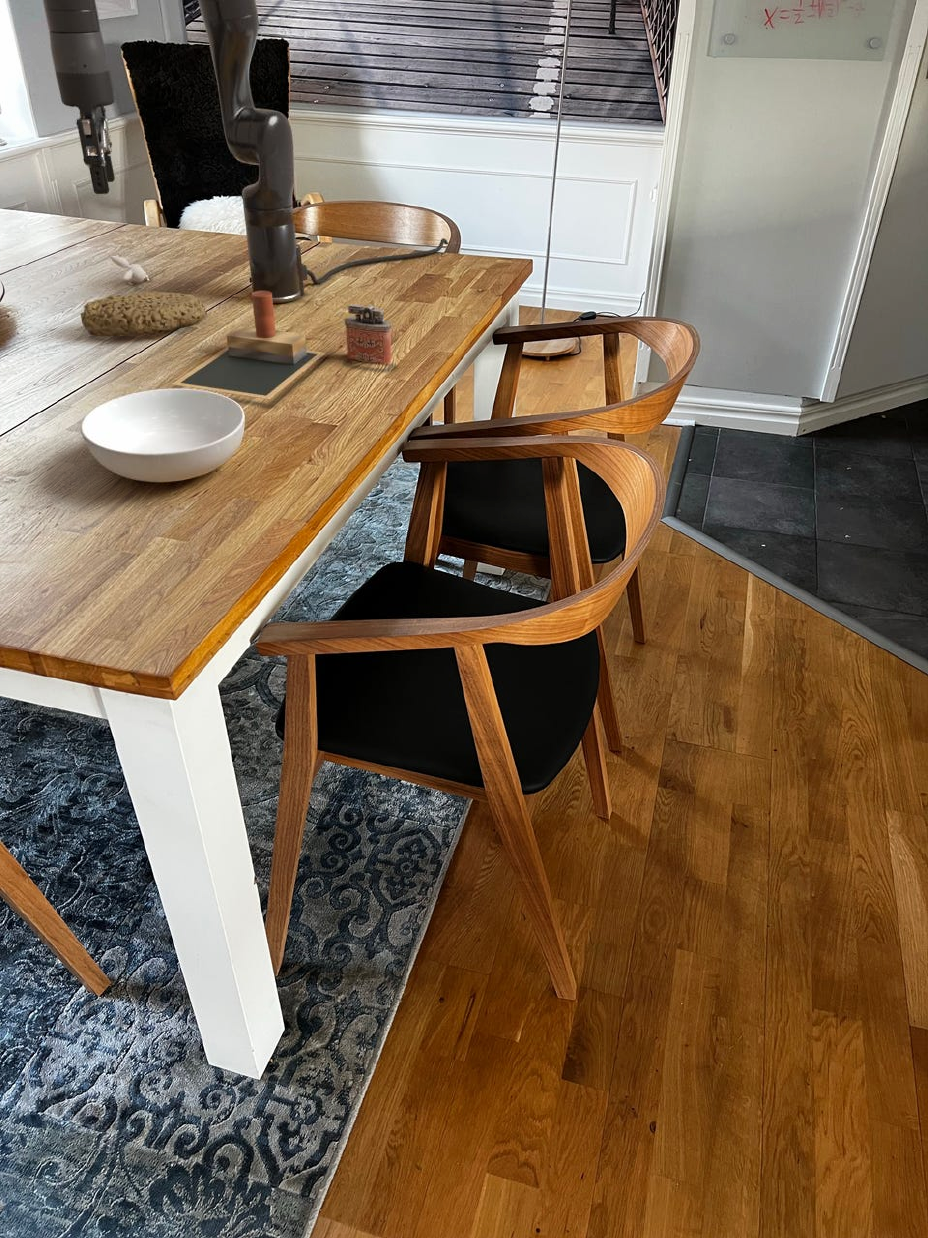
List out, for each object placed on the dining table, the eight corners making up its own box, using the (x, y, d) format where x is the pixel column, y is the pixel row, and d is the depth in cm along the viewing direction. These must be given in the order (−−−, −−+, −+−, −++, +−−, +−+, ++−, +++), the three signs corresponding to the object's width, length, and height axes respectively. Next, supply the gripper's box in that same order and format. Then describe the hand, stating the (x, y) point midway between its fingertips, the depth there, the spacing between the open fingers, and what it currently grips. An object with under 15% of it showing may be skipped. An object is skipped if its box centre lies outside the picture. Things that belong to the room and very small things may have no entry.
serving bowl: (170, 518, 118) (161, 468, 114) (58, 474, 127) (45, 426, 123) (281, 455, 132) (276, 409, 128) (173, 420, 141) (166, 375, 137)
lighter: (395, 365, 161) (394, 305, 155) (387, 372, 158) (386, 312, 152) (351, 358, 163) (348, 299, 157) (343, 365, 160) (340, 305, 154)
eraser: (229, 355, 159) (221, 293, 153) (243, 345, 163) (236, 284, 157) (294, 364, 157) (288, 302, 151) (307, 354, 160) (302, 293, 154)
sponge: (87, 351, 166) (195, 329, 164) (71, 305, 163) (181, 282, 161) (114, 339, 178) (215, 318, 176) (100, 295, 175) (203, 275, 173)
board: (236, 346, 166) (236, 340, 165) (326, 359, 162) (325, 352, 161) (172, 391, 150) (170, 383, 149) (269, 406, 146) (268, 398, 145)
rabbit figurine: (158, 282, 195) (127, 272, 188) (147, 295, 197) (116, 286, 190) (145, 260, 196) (114, 250, 189) (134, 274, 198) (103, 264, 191)
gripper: (103, 73, 133) (126, 197, 142) (113, 61, 144) (133, 176, 154) (47, 73, 132) (73, 198, 141) (61, 61, 143) (85, 177, 152)
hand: (105, 187), depth 147 cm, fingers open, 8 cm apart
